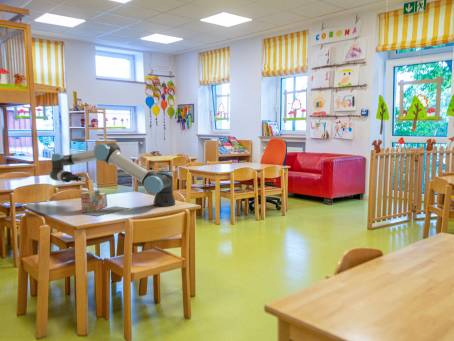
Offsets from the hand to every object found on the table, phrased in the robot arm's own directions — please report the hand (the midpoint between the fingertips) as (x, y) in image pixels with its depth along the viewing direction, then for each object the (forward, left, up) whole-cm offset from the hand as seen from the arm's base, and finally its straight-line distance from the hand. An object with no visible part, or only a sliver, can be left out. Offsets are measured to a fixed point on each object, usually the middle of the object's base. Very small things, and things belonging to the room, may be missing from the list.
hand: (84, 179), depth 275 cm
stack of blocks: (-10, +1, -19) cm, 21 cm away
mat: (-20, +1, -19) cm, 28 cm away
